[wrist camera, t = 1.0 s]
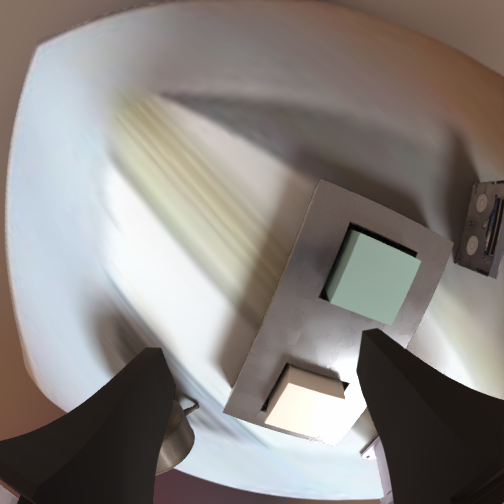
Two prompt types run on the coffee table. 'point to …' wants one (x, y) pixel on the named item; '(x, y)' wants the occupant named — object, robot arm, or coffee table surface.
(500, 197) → the mini dv tape
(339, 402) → the white key
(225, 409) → the key housing
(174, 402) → the alarm clock
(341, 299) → the teal key
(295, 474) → the coffee table surface
